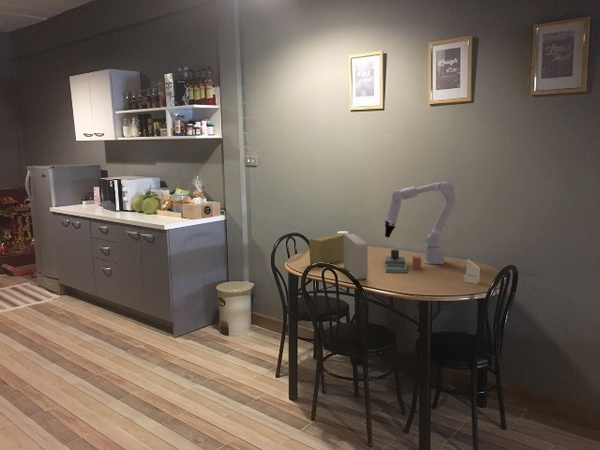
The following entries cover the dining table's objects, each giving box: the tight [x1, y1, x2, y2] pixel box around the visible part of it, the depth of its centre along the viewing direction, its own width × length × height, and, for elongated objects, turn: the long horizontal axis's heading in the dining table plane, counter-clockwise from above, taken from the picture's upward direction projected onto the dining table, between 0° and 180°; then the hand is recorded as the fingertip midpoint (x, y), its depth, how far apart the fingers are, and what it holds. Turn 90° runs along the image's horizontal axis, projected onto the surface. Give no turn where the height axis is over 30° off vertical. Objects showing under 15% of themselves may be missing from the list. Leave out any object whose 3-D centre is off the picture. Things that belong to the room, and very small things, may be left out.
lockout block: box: [412, 255, 422, 270], centre depth 261 cm, size 4×4×6 cm
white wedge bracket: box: [463, 258, 481, 285], centre depth 235 cm, size 4×10×9 cm
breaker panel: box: [384, 256, 406, 268], centre depth 270 cm, size 10×11×4 cm
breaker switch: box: [390, 248, 400, 258], centre depth 272 cm, size 4×3×4 cm
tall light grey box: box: [343, 233, 369, 281], centre depth 254 cm, size 29×8×18 cm, turn 8°
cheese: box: [308, 234, 344, 265], centre depth 276 cm, size 22×10×15 cm, turn 126°
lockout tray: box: [385, 263, 408, 274], centre depth 259 cm, size 10×10×2 cm
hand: (387, 235), depth 277 cm, fingers open, 7 cm apart
